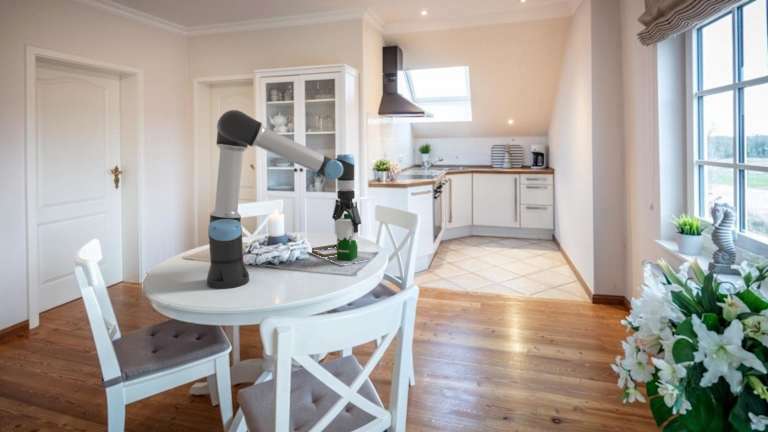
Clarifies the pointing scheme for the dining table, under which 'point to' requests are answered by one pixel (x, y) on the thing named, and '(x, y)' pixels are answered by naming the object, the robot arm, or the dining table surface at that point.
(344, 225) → the soya milk
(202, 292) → the dining table surface
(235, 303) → the dining table surface
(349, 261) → the grey mat
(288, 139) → the robot arm
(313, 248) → the walnut collar
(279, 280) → the dining table surface
